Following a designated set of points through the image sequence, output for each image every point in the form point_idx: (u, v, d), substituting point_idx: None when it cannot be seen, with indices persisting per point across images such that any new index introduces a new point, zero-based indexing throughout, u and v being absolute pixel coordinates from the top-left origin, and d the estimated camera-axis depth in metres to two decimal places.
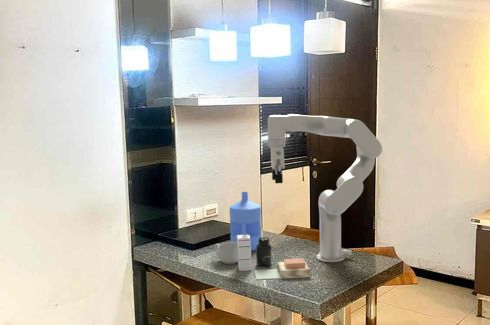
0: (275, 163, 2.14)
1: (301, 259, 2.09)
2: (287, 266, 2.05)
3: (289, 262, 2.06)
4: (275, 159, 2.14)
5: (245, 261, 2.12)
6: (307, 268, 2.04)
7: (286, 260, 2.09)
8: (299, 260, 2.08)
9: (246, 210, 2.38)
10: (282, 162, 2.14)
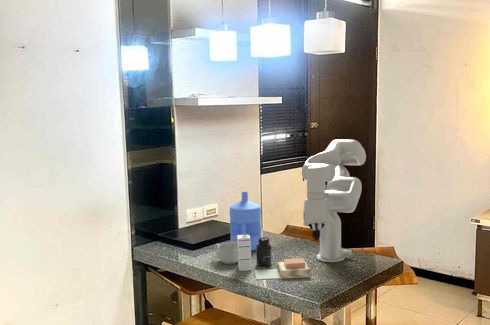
0: (328, 216, 2.05)
1: (301, 259, 2.09)
2: (287, 266, 2.05)
3: (289, 262, 2.06)
4: None
5: (245, 261, 2.12)
6: (307, 268, 2.04)
7: (286, 260, 2.09)
8: (299, 260, 2.08)
9: (246, 210, 2.38)
10: None
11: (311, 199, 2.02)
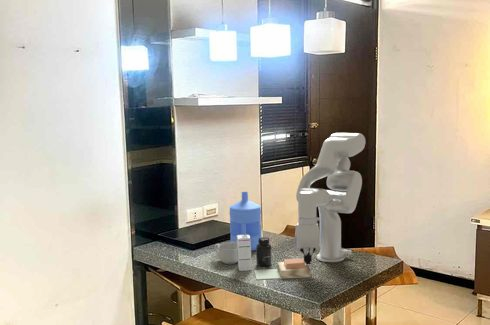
0: (320, 240, 2.06)
1: (301, 259, 2.09)
2: (287, 266, 2.05)
3: (289, 262, 2.06)
4: (319, 236, 2.06)
5: (245, 261, 2.12)
6: (307, 268, 2.04)
7: (286, 260, 2.09)
8: (299, 260, 2.08)
9: (246, 210, 2.38)
10: None
11: (302, 224, 2.03)
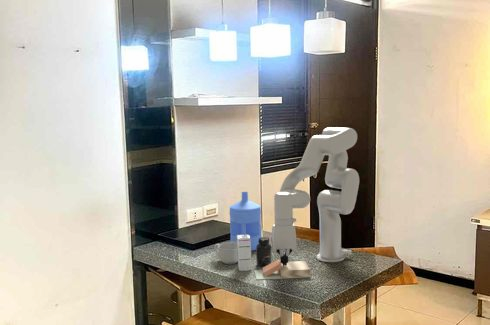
0: None
1: (277, 260, 2.08)
2: (266, 274, 2.04)
3: (267, 269, 2.05)
4: None
5: (245, 261, 2.12)
6: (307, 268, 2.04)
7: (264, 268, 2.08)
8: (275, 262, 2.07)
9: (246, 210, 2.38)
10: None
11: (278, 225, 2.02)
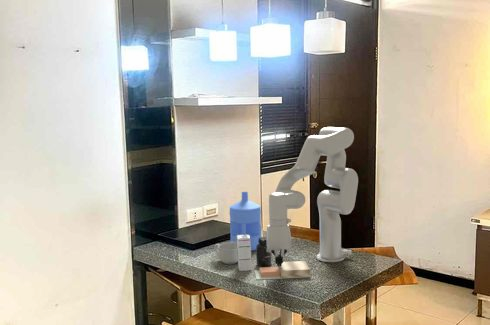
0: None
1: (276, 267, 2.09)
2: (262, 275, 2.04)
3: (264, 271, 2.05)
4: (290, 238, 2.05)
5: (245, 261, 2.12)
6: (307, 268, 2.04)
7: (261, 268, 2.08)
8: (274, 268, 2.07)
9: (246, 210, 2.38)
10: None
11: (273, 226, 2.02)
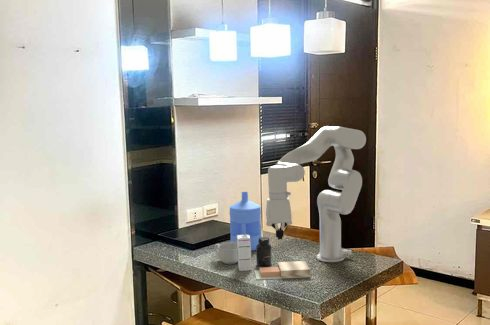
0: None
1: (276, 267, 2.09)
2: (262, 275, 2.04)
3: (264, 271, 2.05)
4: (290, 211, 2.04)
5: (245, 261, 2.12)
6: (307, 268, 2.04)
7: (261, 268, 2.08)
8: (274, 268, 2.07)
9: (246, 210, 2.38)
10: None
11: (272, 199, 2.01)
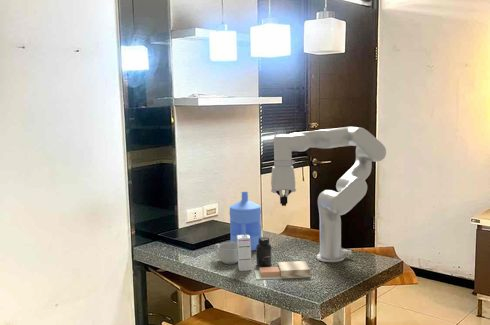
0: None
1: (276, 267, 2.09)
2: (262, 275, 2.04)
3: (264, 271, 2.05)
4: (294, 178, 2.13)
5: (245, 261, 2.12)
6: (307, 268, 2.04)
7: (261, 268, 2.08)
8: (274, 268, 2.07)
9: (246, 210, 2.38)
10: None
11: (278, 166, 2.11)
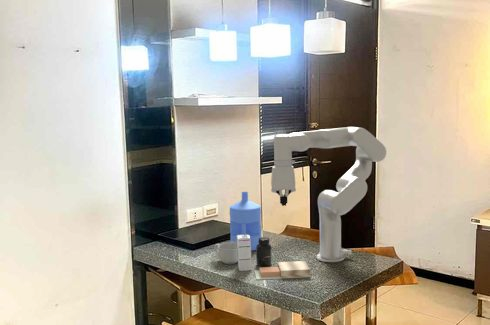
0: None
1: (276, 267, 2.09)
2: (262, 275, 2.04)
3: (264, 271, 2.05)
4: None
5: (245, 261, 2.12)
6: (307, 268, 2.04)
7: (261, 268, 2.08)
8: (274, 268, 2.07)
9: (246, 210, 2.38)
10: None
11: (278, 166, 2.11)
